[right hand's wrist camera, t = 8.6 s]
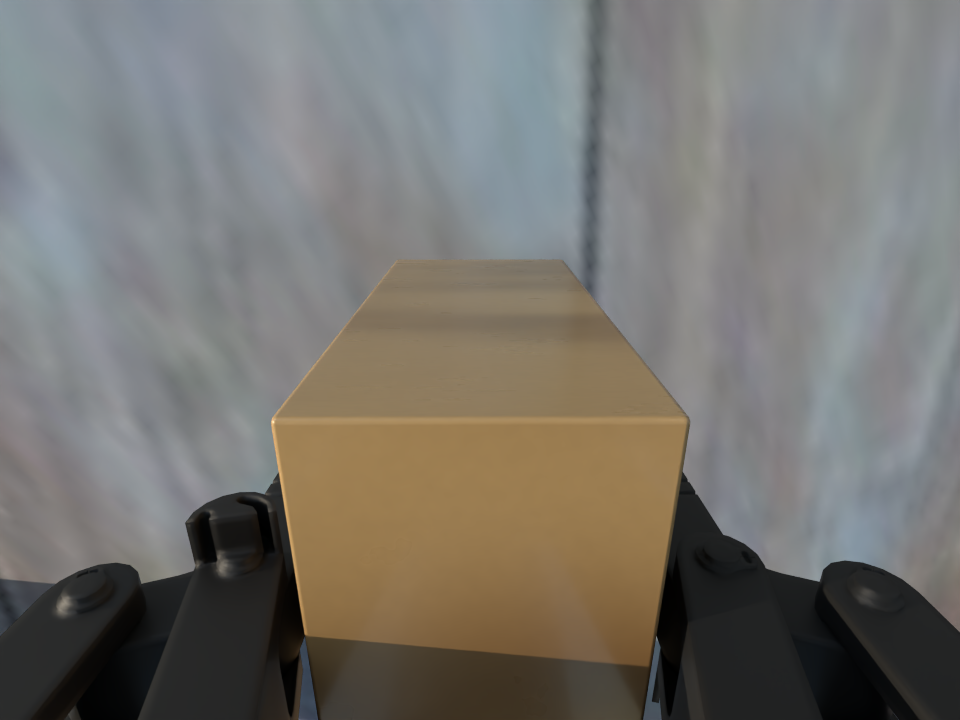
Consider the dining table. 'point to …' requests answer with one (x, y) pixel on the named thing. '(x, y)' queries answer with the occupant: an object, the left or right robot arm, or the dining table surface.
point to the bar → (480, 500)
